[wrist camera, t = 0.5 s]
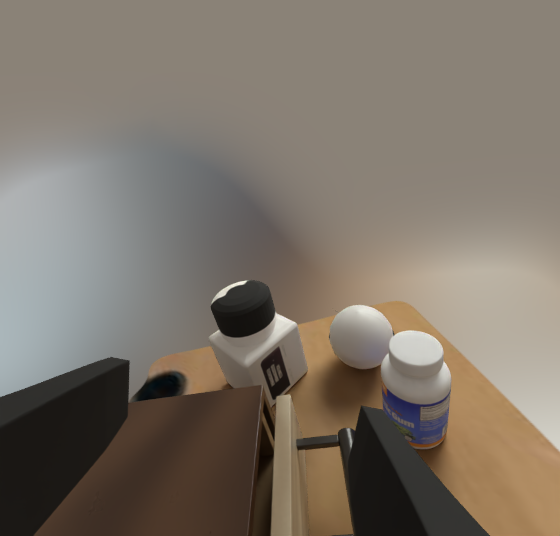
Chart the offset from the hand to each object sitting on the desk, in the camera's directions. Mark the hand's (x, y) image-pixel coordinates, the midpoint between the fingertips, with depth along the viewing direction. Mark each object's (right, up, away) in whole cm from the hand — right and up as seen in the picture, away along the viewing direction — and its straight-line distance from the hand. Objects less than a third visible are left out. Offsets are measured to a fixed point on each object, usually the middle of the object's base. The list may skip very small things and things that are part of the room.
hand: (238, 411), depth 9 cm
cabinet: (-6, -17, +15) cm, 23 cm away
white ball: (+11, -7, +28) cm, 31 cm away
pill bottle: (+14, -11, +18) cm, 26 cm away
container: (0, -10, +27) cm, 29 cm away
